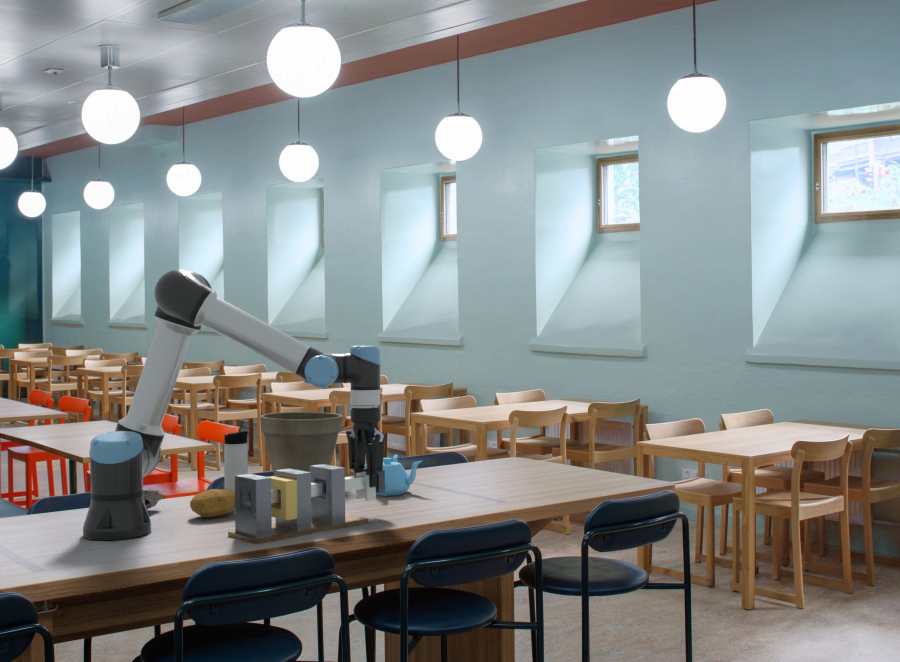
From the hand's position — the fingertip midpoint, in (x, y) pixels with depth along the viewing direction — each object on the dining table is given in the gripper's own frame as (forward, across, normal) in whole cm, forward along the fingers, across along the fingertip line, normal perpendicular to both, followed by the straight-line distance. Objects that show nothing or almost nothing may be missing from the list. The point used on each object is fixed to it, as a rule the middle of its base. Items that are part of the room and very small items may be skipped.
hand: (365, 498), depth 241 cm
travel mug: (+5, +40, +13) cm, 42 cm away
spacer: (+1, 0, +26) cm, 26 cm away
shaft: (-2, 0, +14) cm, 14 cm away
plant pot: (+5, +52, -17) cm, 55 cm away
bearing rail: (+5, 0, +20) cm, 21 cm away
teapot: (+5, +22, -27) cm, 35 cm away
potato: (+5, +29, +26) cm, 39 cm away
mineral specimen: (+5, +49, +36) cm, 61 cm away
